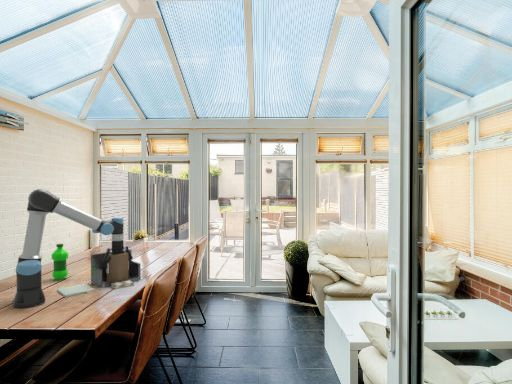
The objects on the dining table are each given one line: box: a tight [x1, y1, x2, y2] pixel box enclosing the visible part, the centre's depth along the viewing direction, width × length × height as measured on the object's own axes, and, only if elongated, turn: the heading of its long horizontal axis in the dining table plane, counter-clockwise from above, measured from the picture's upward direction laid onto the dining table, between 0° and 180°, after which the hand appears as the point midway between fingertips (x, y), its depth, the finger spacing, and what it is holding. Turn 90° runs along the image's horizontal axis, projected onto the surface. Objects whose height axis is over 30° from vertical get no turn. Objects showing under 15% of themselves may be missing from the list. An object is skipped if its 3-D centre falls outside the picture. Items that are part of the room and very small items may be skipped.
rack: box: [90, 248, 142, 288], centre depth 230 cm, size 28×19×20 cm
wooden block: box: [106, 253, 129, 283], centre depth 229 cm, size 10×10×20 cm
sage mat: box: [56, 283, 96, 298], centre depth 212 cm, size 17×18×1 cm
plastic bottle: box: [51, 243, 69, 281], centre depth 241 cm, size 10×10×25 cm
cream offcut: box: [111, 280, 135, 290], centre depth 219 cm, size 12×7×2 cm, turn 132°
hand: (117, 271), depth 229 cm, fingers closed on wooden block, 13 cm apart
